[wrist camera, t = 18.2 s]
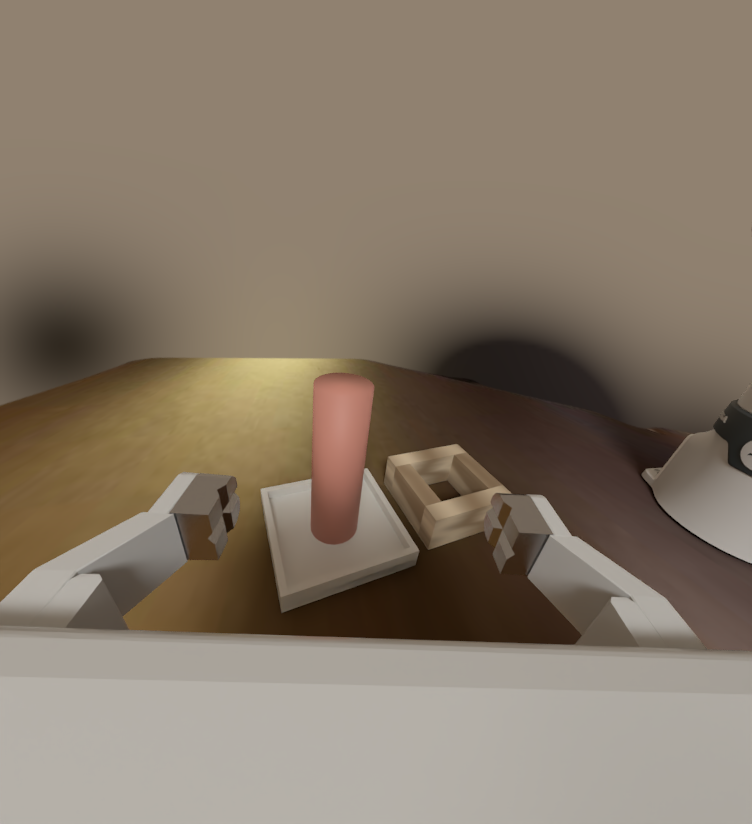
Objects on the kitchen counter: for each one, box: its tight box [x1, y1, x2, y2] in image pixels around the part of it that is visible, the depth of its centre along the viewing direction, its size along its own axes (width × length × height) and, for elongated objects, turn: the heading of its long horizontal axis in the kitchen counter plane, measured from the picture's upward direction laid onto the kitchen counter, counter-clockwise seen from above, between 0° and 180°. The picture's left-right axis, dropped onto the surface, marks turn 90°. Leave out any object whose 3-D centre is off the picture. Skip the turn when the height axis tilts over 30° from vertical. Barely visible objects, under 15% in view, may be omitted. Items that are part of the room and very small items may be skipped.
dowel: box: [311, 373, 374, 545], centre depth 27 cm, size 4×4×15 cm
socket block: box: [384, 444, 512, 550], centre depth 36 cm, size 10×10×4 cm
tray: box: [261, 468, 419, 613], centre depth 31 cm, size 12×12×2 cm
